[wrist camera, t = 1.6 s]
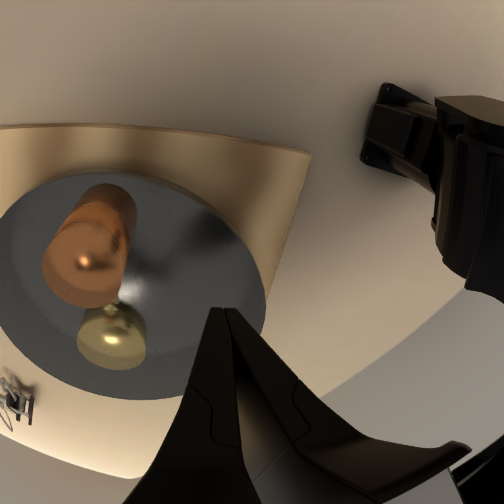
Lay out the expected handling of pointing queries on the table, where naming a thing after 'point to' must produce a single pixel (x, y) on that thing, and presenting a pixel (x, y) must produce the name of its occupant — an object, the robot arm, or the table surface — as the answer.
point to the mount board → (170, 172)
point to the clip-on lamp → (15, 403)
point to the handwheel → (119, 280)
